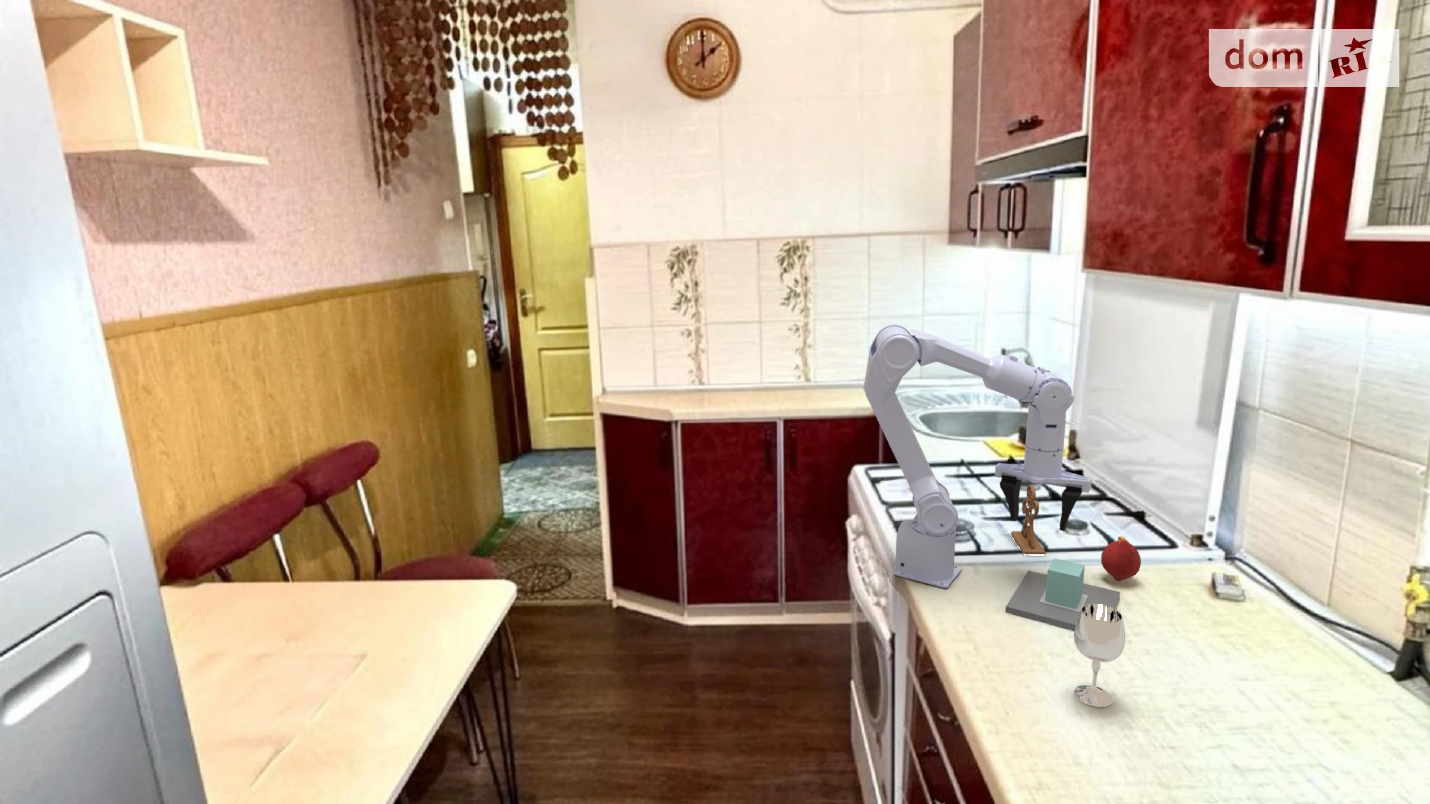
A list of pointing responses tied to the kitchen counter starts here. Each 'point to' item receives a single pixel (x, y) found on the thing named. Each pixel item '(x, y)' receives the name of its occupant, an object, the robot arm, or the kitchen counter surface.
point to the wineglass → (1098, 646)
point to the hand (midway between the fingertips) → (1038, 523)
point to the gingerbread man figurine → (1026, 535)
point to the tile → (1034, 606)
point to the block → (1064, 583)
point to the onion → (1121, 559)
